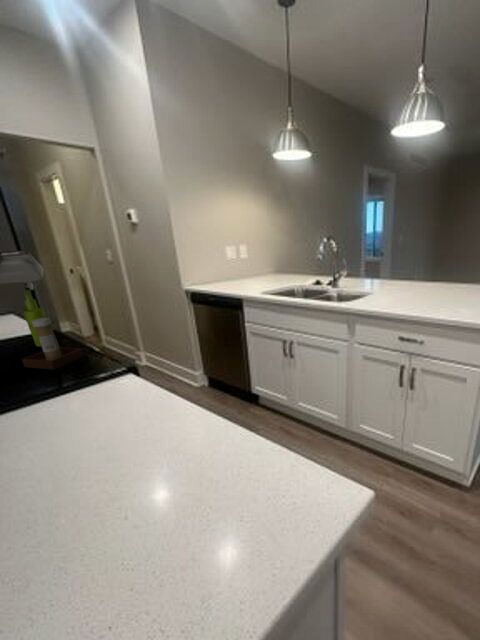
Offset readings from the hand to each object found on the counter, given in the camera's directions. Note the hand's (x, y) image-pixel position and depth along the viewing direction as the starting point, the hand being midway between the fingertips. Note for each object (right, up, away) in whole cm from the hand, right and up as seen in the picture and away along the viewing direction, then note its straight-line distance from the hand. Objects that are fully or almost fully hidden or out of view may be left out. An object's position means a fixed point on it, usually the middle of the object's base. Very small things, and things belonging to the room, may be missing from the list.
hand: (9, 290), depth 91 cm
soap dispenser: (-19, -13, +39) cm, 45 cm away
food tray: (-3, -19, +21) cm, 28 cm away
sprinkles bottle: (-3, -18, +20) cm, 28 cm away
